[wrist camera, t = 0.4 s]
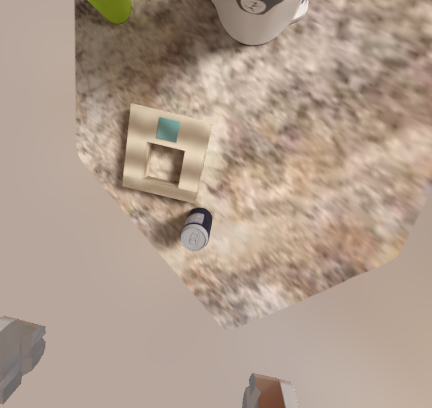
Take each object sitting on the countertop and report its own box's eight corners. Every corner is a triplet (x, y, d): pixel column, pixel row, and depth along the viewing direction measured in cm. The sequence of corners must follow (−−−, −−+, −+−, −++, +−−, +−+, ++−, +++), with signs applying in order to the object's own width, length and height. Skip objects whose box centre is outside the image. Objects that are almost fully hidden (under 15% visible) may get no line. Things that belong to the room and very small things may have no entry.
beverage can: (186, 223, 55) (174, 247, 44) (193, 203, 54) (184, 221, 42) (207, 231, 56) (202, 257, 44) (216, 211, 54) (212, 232, 43)
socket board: (138, 105, 48) (130, 102, 44) (212, 123, 48) (211, 122, 44) (129, 182, 53) (121, 186, 49) (196, 198, 53) (193, 203, 49)
